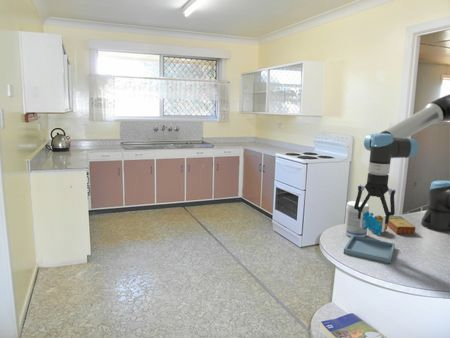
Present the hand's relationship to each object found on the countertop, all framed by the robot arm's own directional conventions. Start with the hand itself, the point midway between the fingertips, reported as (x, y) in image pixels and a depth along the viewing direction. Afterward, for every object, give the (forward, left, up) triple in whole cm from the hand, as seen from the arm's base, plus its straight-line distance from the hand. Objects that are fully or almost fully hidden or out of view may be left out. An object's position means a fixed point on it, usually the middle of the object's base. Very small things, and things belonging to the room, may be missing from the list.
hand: (371, 228), depth 143 cm
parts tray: (0, 0, -10) cm, 10 cm away
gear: (0, 0, -2) cm, 2 cm away
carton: (-8, -35, -10) cm, 38 cm away
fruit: (0, -25, -10) cm, 27 cm away
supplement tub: (+8, -15, -10) cm, 20 cm away
